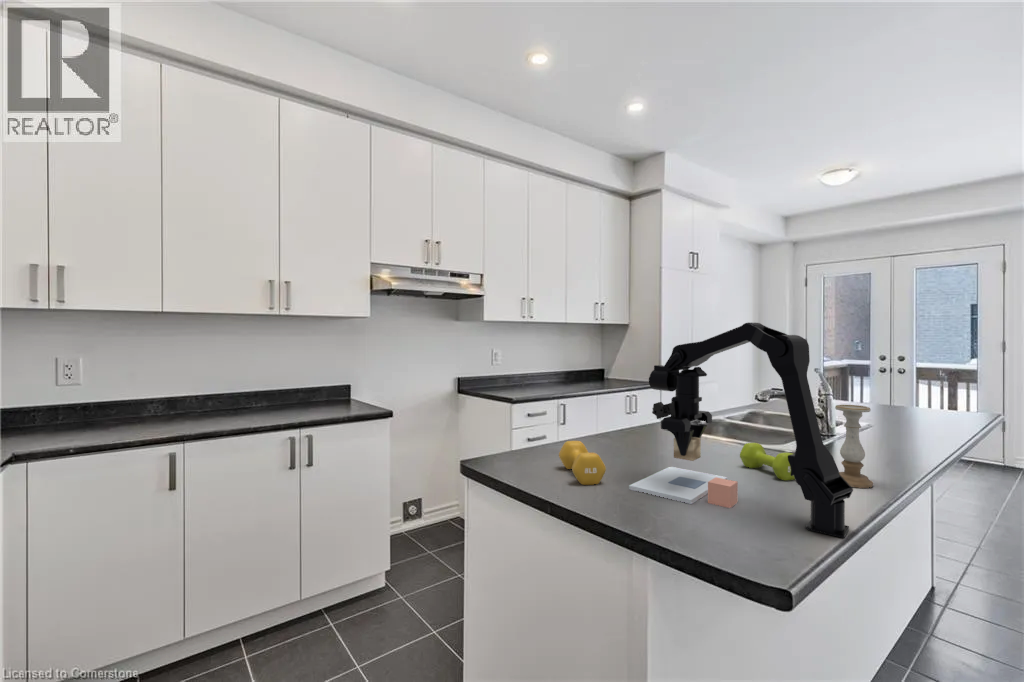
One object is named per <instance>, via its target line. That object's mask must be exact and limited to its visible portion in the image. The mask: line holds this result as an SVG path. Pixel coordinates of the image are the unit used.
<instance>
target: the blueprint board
mask: <svg viewBox="0 0 1024 682" xmlns="http://www.w3.org/2000/svg"><path fill="white" fill-rule="evenodd" d="M714 478H722V479H727V480H728V476H727V477H726V476H722V475H716V474H712V473H707V472H702V471H697V470H691V469H685V468H680V467H675V466H668V467H666V468H664V469H662V470H659V471H657V472H655V473H652V474H651V475H649V476H647V477H644V478H642V479H640V480H638V481H636V482H633V483H632V484H629V485H628V490H630V491H633V492H634V491H635V492H638V491H639V493H642V492H644V494H646V493H648V494H647V495H651V494H652V495H651V496H655V495H656V496H655V497H659V496H660V498H663V497H664V499H667V498H668V500H671V499H672V500H673V501H676V500H677V502H680V501H681V502H680V503H684V502H685V503H686V504H688V505H689V504H690V505H692V504H694V503H696V502H697V501H699V500H700V499H701V498H703V497H705V496H707V495H708V482H709V481H710V480H712V479H714ZM672 500H671V501H672Z"/></svg>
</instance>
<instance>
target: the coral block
mask: <svg viewBox="0 0 1024 682" xmlns="http://www.w3.org/2000/svg"><path fill="white" fill-rule="evenodd" d="M738 483H739V482H738V481H737V480H730V479H728V478H727V479H722V478H714V479H712V480H710V481H709V482H708V494H707V503H708V504H710V505H714V504H715V505H714V506H718V505H719V507H723V508H727V509H728V508H729V509H731V508H733V507H734V506H735V505H736V504H737V502H739V500H738V499H739V498H738V495H739V494H738V488H739V487H738V485H739V484H738Z"/></svg>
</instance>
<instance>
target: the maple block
mask: <svg viewBox="0 0 1024 682" xmlns="http://www.w3.org/2000/svg"><path fill="white" fill-rule="evenodd" d="M701 438H702V437H701ZM701 438H697V437H691V441H690V444H689V447H688V450H687V453H686V455H685V456H682V455H681V454H680V451H679V448H678V445H677V442H676V439H675V437H674V438H673V458H674V459H678V460H679V459H680V460H686V461H690V462H694V461H696V460H699V459H700V458H702V455H701V453H702V452H701V450H702V448H701V446H702V445H701V440H702V439H701Z"/></svg>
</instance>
